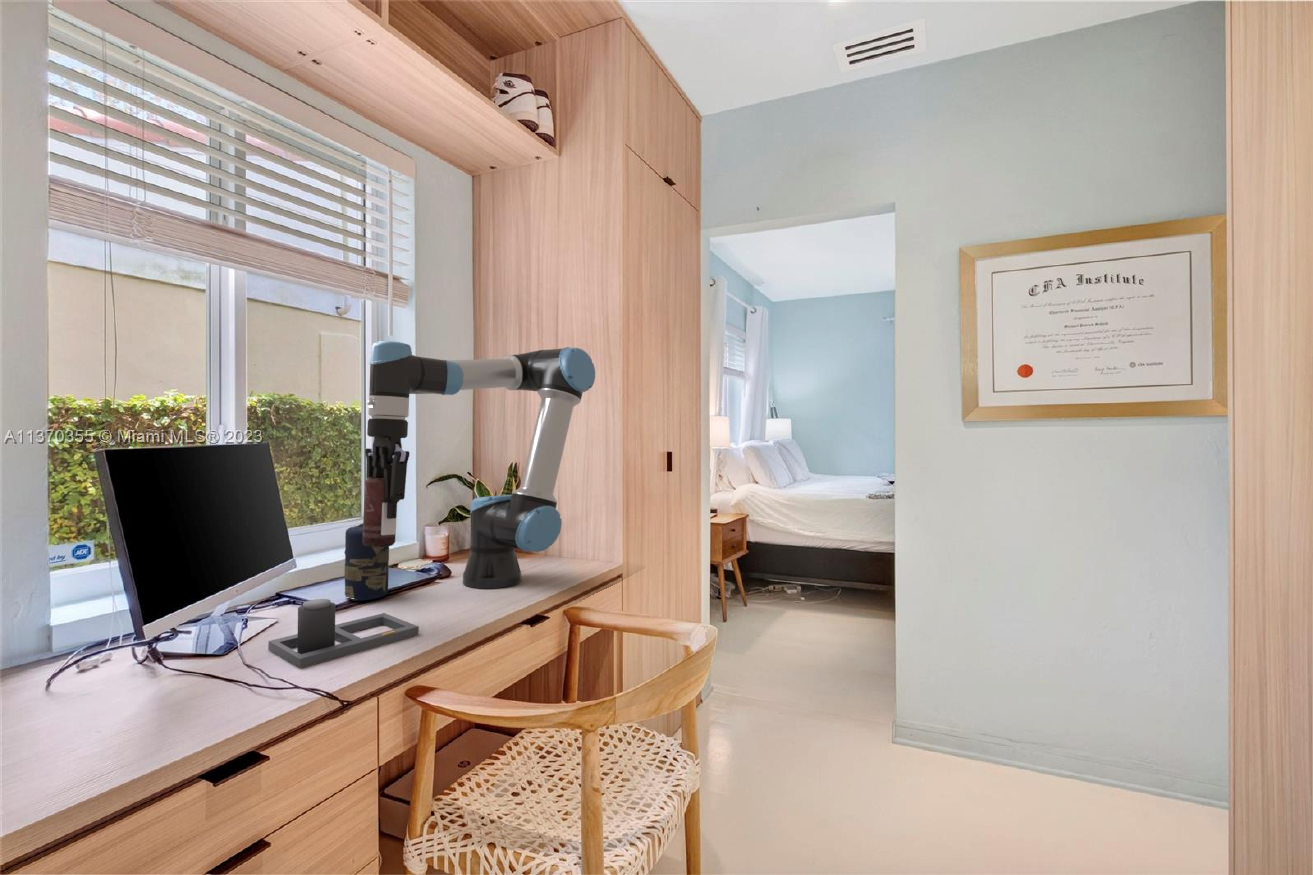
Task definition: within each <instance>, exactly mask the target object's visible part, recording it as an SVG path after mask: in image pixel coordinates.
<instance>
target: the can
mask: <svg viewBox="0 0 1313 875" xmlns="http://www.w3.org/2000/svg"><path fill="white" fill-rule="evenodd" d="M363 497H364V500H363V541H362V543H363V545H364V546H366V547H387V546H389V547H391V546H394V544H395V542H396V534H392V535H381V521H382V501H381V500H385V489H384V478H373V476H370V477H367V479H366V478H365V481H364V496H363Z"/></svg>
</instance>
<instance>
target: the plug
mask: <svg viewBox="0 0 1313 875" xmlns="http://www.w3.org/2000/svg"><path fill="white" fill-rule="evenodd" d="M335 625H336V602H335V603H334V602H332V601H331V599H330V598H315V599H309V600H307V601H304V602H303V603H302V605H301V606H298V607H297V634H298V638H297V646H296V647H297V648H296V652H298V653H299V654H304V653H308V652H312V651H315V650H319V649H323V648H327V647H330V646H334V645H336V640H335Z"/></svg>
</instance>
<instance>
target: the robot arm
mask: <svg viewBox="0 0 1313 875" xmlns="http://www.w3.org/2000/svg"><path fill="white" fill-rule="evenodd" d="M370 351H371V352H370V358H369V365H370V367H369V394H368V400H367V401H366V402H367V405H368V413H367V414H368V415H369V416H371V418H368V419H367V428H366V429H367V430H366V433H367V437H370V438H371V437H372V438H374V439H373V443H372V447H370V448H365V451H364V453H365V459H366V461H365V462H366V466H365V469H366V472H365V474H366V476H365V480H366V479H367V477H370V476H373V478H384V489H385V500H381V501H382V521H381V535H392V534H395V535H397V516H398V514H397V512H398V503H399V502H400V501H401V500H404V499H405V494H406V482H407V480H406V479H407V472H408V470H407V468H408V461H409V459H410V454H411V453H410V452H409V451H408V450H403V445H402V439H405V438H407V437H408V429H409V421H408V420H406V418H408V417H409V413H410V412H409V411H410V408H409V407H410V395H422V394H423V395H426V394H427V395H428V394H429V395H430V394H433V395H441V396H448V395H449V396H453V395H456V394H458V393H459V392H460V391H464V390H465V391H468V390H469V391H470V390H481V389H483V390H484V389H496V388H497V389H498V388H505V389H507V390H509V391H530V392H537V394H538V396H539V397H540V400H541V401H540V404H539V409H538V412H537V415H536V416H537V417H536V421H535V425H534V429H533V433H532V437H531V440H530V445H529V450H528V453H527V457H526V462H525V466H524V469H523V474H522V478H521V482H520V484H519V485H520V486H519V487H518V488H517V489H516V490H513V491H512V494H505V495H503V494H502V495H491V496H490V495H488V496H481V497H480V496H479V497H475V498H474V499H472V501H471V504H470V505H471V507H470V513H469V514H470V544H469V545H470V548H469V550H470V551H469V555H468V556H469V557H468V559H467V562H466V565H465V568H464V571H463V572H462V584H463V585H464V586H466V587H470V588H475V589H500V588H506V587H512V586H515V585H517V584H519V583H521V581H522V570H521V568H520V564H519V560H518V557H517V555H516V549H519V550H521V551H526V552H534V553H535V552H536V553H537V552H543V551H545V550H547V549H549V547H551V546H552V545H554V543H555V542H556V541H557V539H558V538H559V535H560V534H561V531H562V530H561V529H562V522H563V521H562V518H561V514H560V512H559V510H557V504H558V501H557V499H556V497H555V495H554V493H555V492H554V491H555V487H556V483H557V479H558V474H559V470H560V466H561V461H562V458H563V453H564V449H565V444H566V440H567V436H568V432H569V429H570V423H571V419H572V416H573V411H574V410H573V409H574V407H575V406H577V405H578V404H580V403H581V400H582V398H583V397H582V396H583V393H585V392H587V391H589V390H590V389H591V388H593V386H594V384H595V380H596V367H595V364H594V362H593V359H592V358H591V356H590V355H589V353H587V352H586V351H585V350H583V349H582V348H579V347H568V346H567V347H563V348H553V349H552V348H551V349H541V350H540V349H539V350H534V351H533V350H532V351H529V352H525V353H517V354H507V355H505V356H504V357H503V358H489V359H487V358H483V359H481V358H480V359H448V360H447V359H439V358H438V359H437V358H431V357H423V356H417V355H413V352H412V347H411V345H410V344H408V343H404V342H400V341H391V340H390V341H389V340H381V341H380V340H379V341H375V342H374V343H373V344H372V346H371V350H370Z"/></svg>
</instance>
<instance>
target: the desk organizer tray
mask: <svg viewBox="0 0 1313 875" xmlns="http://www.w3.org/2000/svg"><path fill="white" fill-rule="evenodd" d="M380 625H383V626H385V627H388V628H390V630H386V631H383V632H380V633H379V632H378V633H376V634H371V635H368V636H365V637H360V636H357V635H355V634H354V632H357V631H362V630H365V629H369V628H374V627H377V626H380ZM419 631H420V630H419V625H416V624H413V623H411V622H408V621H405V620H403V619H400V618H398V617H397V616H396V617H395V616H393V615H390V614H388V613H385V612H384V613H383V612H382V613H378V614H375V615H370V616H367V617H363V618H358V619H354V620H351V621H345V622H342V623H338V624H335V642H338V643H339V644H335V645H334V646H330V647H327V648H323V649H319V650H315V651H312V652H308V653H304V654H299V653H298V652H297V650H294V649H293V648H295V647H297V638H298V633H296V634H295V633H294V634H292V635H288V636H287V635H286V636H283V637H280V638H275V639H271V640H268V651H270V652H272V653H273V654H275V655H276V656H279V657H280V658H282V659H283V660H284V661H286V662H288V663H290V664H292V665H293V666H295V667H297V668H299V669H302V668H305V667H309V666H312V665H316V664H317V665H318V664H320V663H322V662H323V663H324V662H326V661H330V660H334V659H337V658H340V657H344V656H347V655H351V654H355V653H358V652H361V651H365V650H368V649H372V648H376V647H380V646H382V645H386V644H389V643H393V642H397V641H400V640H403V639H406V638H411V637H413V636H418V635H419Z"/></svg>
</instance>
